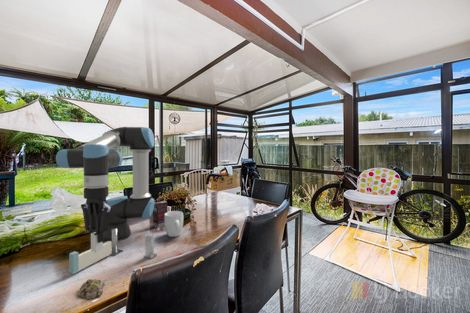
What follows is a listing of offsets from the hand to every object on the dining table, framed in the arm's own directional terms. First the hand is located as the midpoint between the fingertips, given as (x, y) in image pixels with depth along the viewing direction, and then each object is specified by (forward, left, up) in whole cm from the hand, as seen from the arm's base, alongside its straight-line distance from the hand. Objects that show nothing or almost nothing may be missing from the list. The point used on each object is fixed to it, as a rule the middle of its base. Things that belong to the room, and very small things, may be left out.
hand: (96, 250), depth 76 cm
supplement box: (-21, +61, -15) cm, 66 cm away
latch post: (+2, +25, -14) cm, 29 cm away
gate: (-17, +11, -13) cm, 24 cm away
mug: (-2, +50, -15) cm, 52 cm away
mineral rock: (0, -2, -15) cm, 15 cm away
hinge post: (-17, +22, -14) cm, 31 cm away
